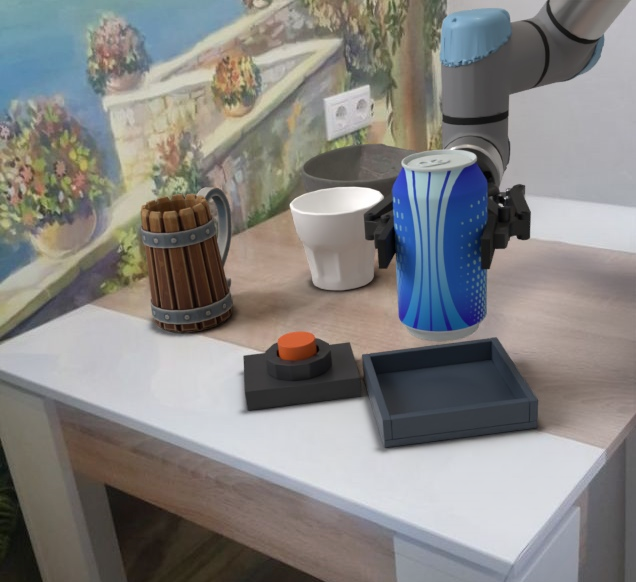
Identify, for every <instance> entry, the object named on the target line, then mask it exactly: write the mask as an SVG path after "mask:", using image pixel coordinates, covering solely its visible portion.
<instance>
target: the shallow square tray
mask: <svg viewBox="0 0 636 582" xmlns="http://www.w3.org/2000/svg"><path fill="white" fill-rule="evenodd" d="M361 362H362V375H363V382H364V385H365V388H366V391H367V394H368V398H369V401H370V404H371V407H372V411H373V415H374V417H375V421H376V425H377V427H378V431H379V434H380V439H381V441H382V444H383V447H384V448H393V447H400V446H409V445H416V444H422V443H423V444H424V443H431V442H437V441H438V442H439V441H447V440H454V439H463V438H469V437H477V436H485V435H492V434H499V433H508V432H516V431H523V430H532V429H537V428H538V419H539V417H538V416H539V400H538V398H537V396H536V394H535V393H534V391H533V390H532V389H531V387H530V386H529V384H528V382H527V380H526V379H525V377H524V376H523V374H522V373H521V372H520V371H519V369H518V367H517V366H516V364H515V362H514V361H513V360H512V358H511V357H510V355H509V354H508V352H507V350H506V349H505V347H504V346H503V344H502V343H501V341H500V340H499V338H498V337H495V336H494V337H489V338H488V337H487V338H481V339H473V340H464V341H457V342H448V343H441V344H434V345H433V344H432V345H425V346H417V347H416V346H415V347H407V348H401V349H393V350H392V349H391V350H385V351H378V352H370V353H363V354H361Z"/></svg>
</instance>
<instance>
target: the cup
mask: <svg viewBox="0 0 636 582" xmlns="http://www.w3.org/2000/svg"><path fill="white" fill-rule="evenodd" d="M383 199H384V196H383V195H382V194H381V193H380V192H379V191H376V190H373V189H370V188H362V187H336V188H329V189H322V190H317V191H313V192H309V193H307V192H306V193H303V194H302V195H299V196H297V197H295V198H294V199H293V200H292V201H291V202H290V203H289V208H290V212H291V216H292V220H293V225H294V229H295V232H296V235H297V237H298V239H299V240H300V241H301V243H302V246H303V249H304V252H305V256H306V259H307V263H308V266H309V270H310V274H311V281H312V283H313V285H314V287H317V288H318V289H320V290H326V291H333V292H334V291H335V292H336V291H337V292H338V291H339V292H340V291H342V292H343V291H350V290H355V289H358V288H362V287H364V286H366V285H368V284H369V283H371V282H372V281H373V280H374V278H375V261H376V251H377V249H375V245H374V240H372V241H370V240H366V239H365V227H364V213H366V212H367V211H368V210H370V209H371V208H372V207H374V206H375V205H376V204H377V203H379V202H380V201H381V200H383Z"/></svg>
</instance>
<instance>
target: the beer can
mask: <svg viewBox="0 0 636 582" xmlns="http://www.w3.org/2000/svg"><path fill="white" fill-rule="evenodd" d="M476 161H477V156H476V155H475V154H474V153H472V152H469V151H464V150H451V149H446V150H443V149H434V150H433V149H432V150H425V151H420V153H416V154H412V155H409V156H407V157H405V158H404V159H403V160H402V163H401V164H402V166H403V167H402V169H401V171H400V173H399V175H398V177H397V179H396V181H395V183H394V185H393V190H392V193H393V213H394V234H395V272H396V290H397V292H396V293H397V294H396V295H397V312H398V313H397V314H398V319H399V322H400V323H401V324H402V325H403V326H405V328H406V331H407V332H408V333H409V335H411V336H413V337H414V338H417V339H420V340H423V341H429V342H450V341H458V340H461V339H464V338H467V337H469V336H471V335H473V334H474V333H475V332H476V331H477V330H478V329H479V326H480V324H481V323H482V322H483V321H484V320H485V319H486V317H487V311H488V269H481V238H482V235H483V232H484V228H485V225H486V223H487V190H488V184H487V180H486V178H485V176H484V175H483V173H482V171H481V170H480V168H479V166H478V165H477V163H476Z"/></svg>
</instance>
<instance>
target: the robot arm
mask: <svg viewBox="0 0 636 582" xmlns="http://www.w3.org/2000/svg"><path fill="white" fill-rule="evenodd" d="M631 1H632V0H546V1H545V2H544V4H543V5H542V7H541V8H540V9H539V11H538V12H537V13H536V14H535V15H534V16H533V17H531V18H526V19H522V20H516V21H512V22H511V15H510V13H509V11H508V10H506V9H505V8H499V7H483V8H473V9H472V8H471V9H466V10H465V9H464V10H459V11H454V12H451V13H450V14H448V15H447V16H445V17H444V19H443V21H442V23H441V36H440V52H439V61H440V75H441V77H440V78H441V103H442V104H441V105H442V106H441V107H442V108H441V109H442V112H441V113H442V116H441V117H442V119H441V141H442V150H446V149H451V150H464V151H469V152H472V153H474V154H475V155H476V156H477V161H476V163H477V165H478V166H479V168H480V170H481V171H482V173H483V175H484V176H485V178H486V180H487V184H488V190H487V223H486V225H485V228H484V232H483V235H482V238H481V269H487V270H490V269H491V266H492V262H493V259H494V255H495V253H496V250H506V249H507V248H508V246H509V245H508V244H509V242H510V241H511V238H512V237H516V239H518V241H528V240H530V239H531V225H532V224H531V223H532V211H531V208H530V206H529V204H528V202H527V200H526V185H525V184H522V183H517V184H515V185H513V186H512V187H508V188H505V191H501V190H500V187H501V184H502V181H503V177H504V174H505V172H506V171H507V169H508V165H509V164H510V159H511V141H510V138H509V116H510V95H513V94H518V93H521V92H525V91H530V90H532V89H536V88H540V87H544V86H548V85H552V84H556V83H564V82H568V81H571V80H573V79H575V78H577V77H579V76H581V75H584V74H587V72H589V71H591V70H592V69H593V68H594V67H595V66H596V65H597V64H598V63H599V61H600V59H601V57H602V53H603V48H604V45H605V41H606V40H605V33H606V32H607V30H608V29H609V28H610V27H611V26H612V25H613V23H614V22H615V20H617V18H618V17H619V16H620V14H622V12H623V11H624V10H625V8H626V7H627V6H628V4H629V3H630V2H631ZM392 190H393V188H392V189H391V194H389V195H388V196H387V197H385V198H384V199H383V200H381V201H380V202H379V203H377V204H376V205H375V206H374V207H372V208H371V209H370V210H368V211H367V212H366V213H364V227H365V239H366V240H370V241H372V240H374V245H375V249H376V250H377V263H378V265H377V266H378V270H387V269H388V268H389V266H390V264H391V263H392V260H393V259H394V258H395V256H396V254H395V234H394V213H393V193H392ZM501 205H502V206H501Z"/></svg>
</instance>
